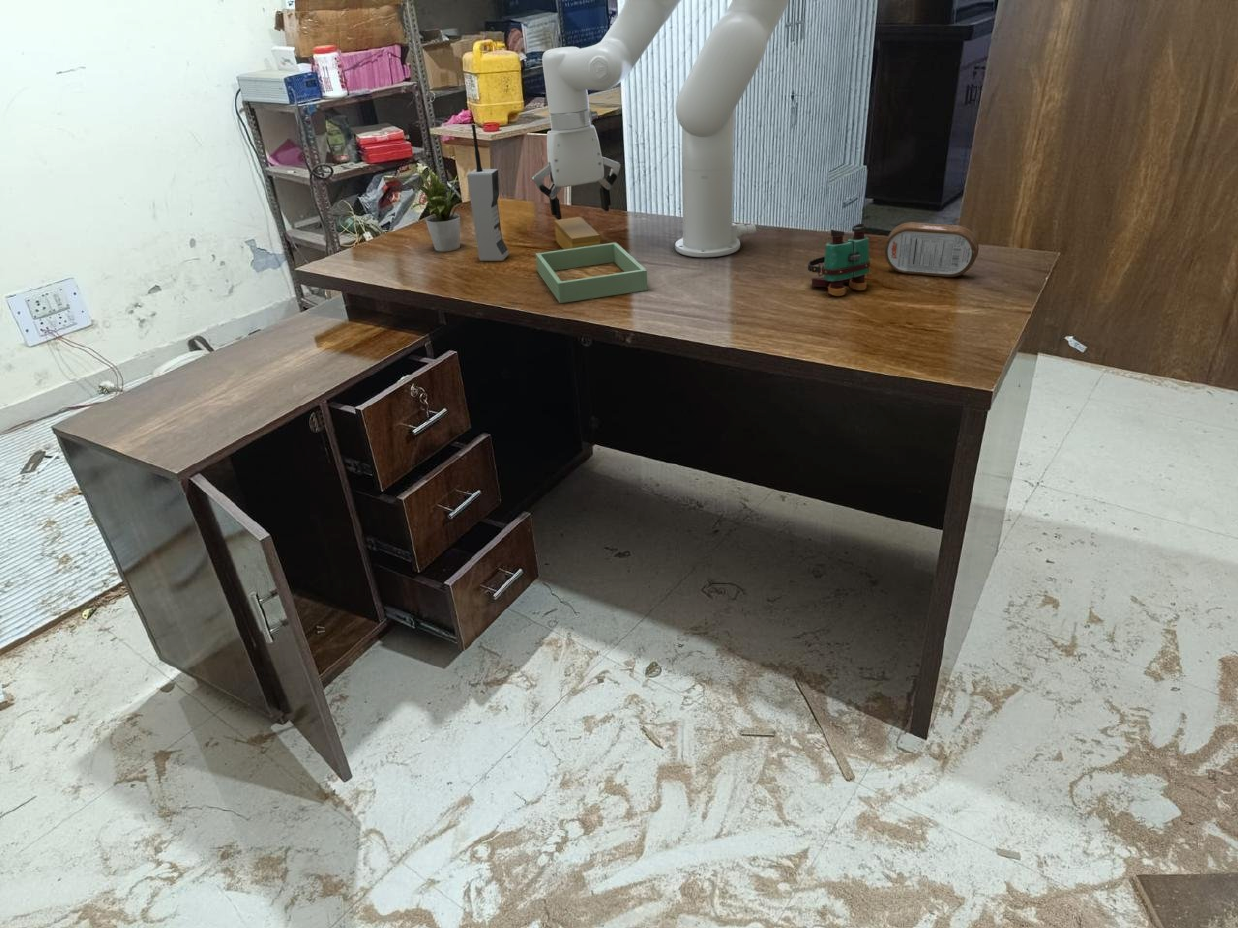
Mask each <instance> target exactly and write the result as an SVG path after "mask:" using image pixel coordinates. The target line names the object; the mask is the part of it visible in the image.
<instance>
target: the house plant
mask: <svg viewBox="0 0 1238 928" xmlns="http://www.w3.org/2000/svg"><path fill="white" fill-rule="evenodd" d="M441 167H442V166H440V168H439V169H438V172H437V173H434V172H433V171H432V169H431V168H430V169H429V181H430V183H429V181H428V179H427V178H426V176H425V174H424V173H422V172H421V171H418V170H415V169H414V170H413V171H414V172H416V173H418V175H419V176H420V177H421V179H422V181H423V184H424V185H425V186H424V185H419V184H417V183H416V182H414V180H413V181H412V180H410V179H407V178H402V180H405V181H409V182H412V183H414V185H413V184H412V183H410V185H411V186H412V187H415V188H416V190H419V191H420V193H421V194H422V195H423V196H424V197H422V200H424V201H426V202H427V203H428V204H425V203H417V202H416V201H412V200H410V202H411V203H415V204H413V205H412V206H411V208H410V210H409V211H410V212H411V211H412V210H413V209H414V208H416V207H418V206H419V207H420V208H422V209H424V210H425V208H424V207H422V206H426V207H428V210H429V211H428V210H426V212H427V213H429V214H430V215H429V216H427V217H426V218H425V223H426V227H427V229H428V233H429V236H430V238H431V241H432V245H433V247H434V250H435V251H437V252H450V251H451V252H452V251H455V250H458V249H459V248H460V247H461V215H460V214H458V213H455V212H456V210H457V209H458V208H459V207H460V206H461V205H462V204H463V205H464V204H466V203H469V202H470V201H469V202H468V201H463V202H460V203H459V204H458V205H457V206H456V207H455V205H456V203H457V202H458V201H460V200H462V199H464V198H463V197H455V198H453V197H454V195H455V194H456V193H459V191H456V187H457V186H455V187H454V185H455V183H456V181H457V179H458V176H459V174H457V175H456V177H455V178H454V180H453V182H452V185H451V187H450V190H449V192H448V195H447V188H446V182H441V179H440V170H441ZM464 178H467V175H466V176H464V177H463V179H464ZM418 187H419V188H418ZM422 192H423V193H422ZM469 204H470V203H469ZM454 207H455V208H454ZM453 208H454V209H453ZM452 210H453V211H452ZM432 212H433V213H434V214H432Z"/></svg>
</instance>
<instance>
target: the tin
mask: <svg viewBox="0 0 1238 928" xmlns="http://www.w3.org/2000/svg"><path fill="white" fill-rule="evenodd" d="M979 247H980V246H979V241H978V239H977V237H976V235H975V233H973V232H972V231H971V230H970V229H968V228H966V227H964V226H961V225H954V224H953V225H952V224H939V223H926V222H925V223H924V222H916V221H915V222H914V221H913V222H912V221H909V222H905V223H901V224H899V225H897V226H896V227H894V228H893V229H892V230H891V231H890V232H889V234H888V236H887V238H886V241H885V243H884V249H883V253H884V258H885V261H886V262H887V264H888V266H889V267H891V269H893V270H894V271H897V272H899V273H902V274H906V275H907V274H908V275H909V274H910V275H919V276H931V277H941V278H955V277H959V276H961V275H964V274H965V273H967V272H968V271H969V270H970V269H971V268H972V266H973V265H974V263H975V261H976V260H977V257H978V255H979V249H980V248H979Z"/></svg>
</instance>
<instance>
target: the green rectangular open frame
mask: <svg viewBox="0 0 1238 928" xmlns="http://www.w3.org/2000/svg"><path fill="white" fill-rule="evenodd" d="M535 260H536V270H537V273H538V274H539V275H540V277H541V279H542V280H543V282H544V283H545V284H546V286H547V287H548V288H549V290H550V291H551V293H552V294H553V296H554V297H555V298H556V300H557V301H558V303H559V304H566V303H572V302H579V301H584V300H585V301H586V300H591V299H598V298H605V297H612V296H616V295H623V294H624V295H625V294H630V293H636V292H637V293H638V292H643V291H648V289H649V288H648V270H647V269H646V268H645V267H644V266H643V265H641V264H640V263H639V262H638V261H637V260H636V258H634V257H633V256H632V255H631V254H629V252H627V251H626V250H625V249H624V248H623V247H622V246H621V245H620V244H618V243H617V242H616V241H615V242H608V243H600V245H594V246H586V247H579V248H572V249H565V250H563V249H558V250H552V251H544V252H537V253H535ZM611 263H614V264H616V265H617V267H619V269H621V270H622V272H616V273H610V274H602V275H596V276H589V277H582V278H575V279H569V280H561V279H560V278H559V276H558V274H556V272H555V271H563V270H568V269H577V268H581V267H582V268H583V267H592V266H596V265H603V264H611Z"/></svg>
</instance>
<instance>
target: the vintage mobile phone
mask: <svg viewBox="0 0 1238 928" xmlns="http://www.w3.org/2000/svg"><path fill="white" fill-rule="evenodd" d="M471 130H472V136H473V137H472V138H473V145H474V146H473V147H474V158H475V165H476V168H474V169H472V170H471V171H470V172H468V173H467V175H466V176H467V177H466V179H467V186H468V193H469V199H470V206H471V212H472V213H471V214H472V220H473V226H474V227H473V228H474V235H475V241H476V242H475V243H476V247H477V255H478V260H479V261H480V262H503V261H504V260H506V258H507V257H509V249H508V247H507V246H506V243H505V241H504V240H503V233H502V226H501V225H502V224H501V218H500V217H501V216H500V211H499V203H498V200H499V197H500V180H499V179H500V178H499V177H500V176H499V168H483V166H482V163H481V155H480V151H479V150H480V149H479V145H478V137H477V130H476V124H475V123H473V124H471Z"/></svg>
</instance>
